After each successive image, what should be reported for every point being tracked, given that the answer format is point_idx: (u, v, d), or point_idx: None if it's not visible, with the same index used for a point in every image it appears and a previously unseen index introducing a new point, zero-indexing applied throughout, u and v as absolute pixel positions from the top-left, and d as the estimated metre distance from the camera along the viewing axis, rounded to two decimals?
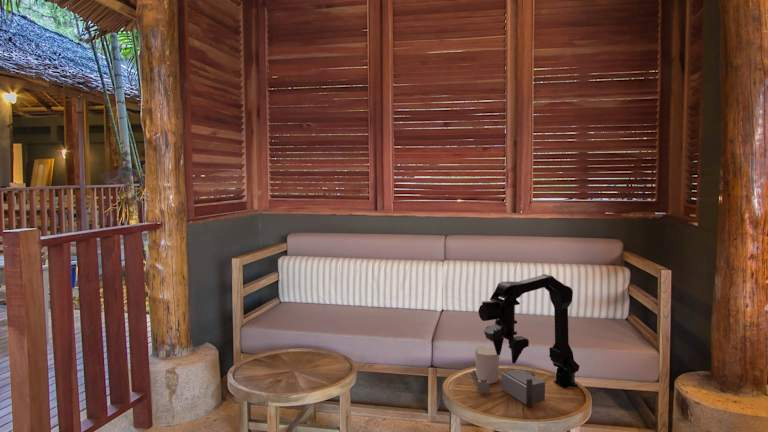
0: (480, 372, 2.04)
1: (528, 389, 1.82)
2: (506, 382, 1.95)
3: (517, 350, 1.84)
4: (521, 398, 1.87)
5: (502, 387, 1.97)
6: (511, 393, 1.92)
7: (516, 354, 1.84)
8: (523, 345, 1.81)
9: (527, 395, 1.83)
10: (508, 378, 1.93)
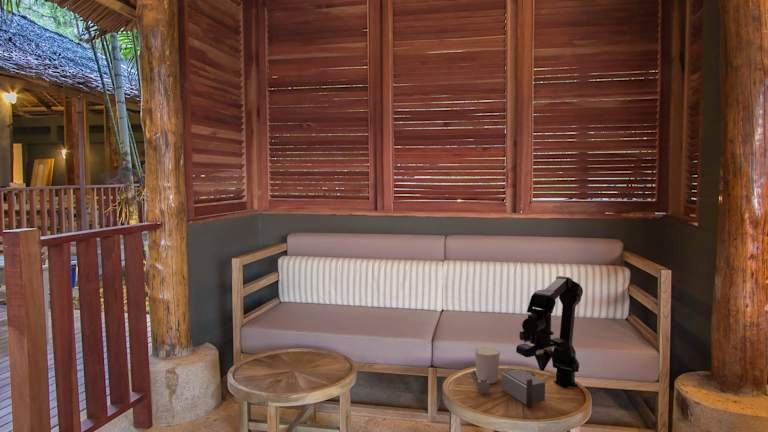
0: (480, 372, 2.04)
1: (528, 389, 1.82)
2: (506, 382, 1.95)
3: (540, 357, 1.83)
4: (521, 398, 1.87)
5: (502, 387, 1.97)
6: (511, 393, 1.92)
7: (539, 361, 1.84)
8: (521, 353, 1.80)
9: (527, 395, 1.83)
10: (508, 378, 1.93)
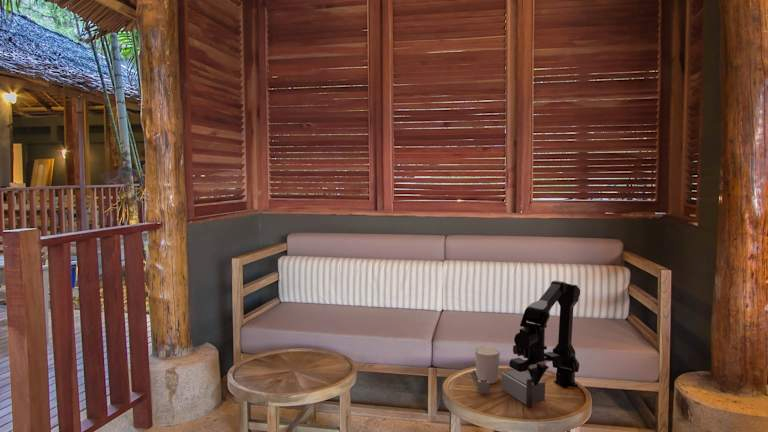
0: (480, 372, 2.04)
1: (528, 389, 1.82)
2: (506, 382, 1.95)
3: (533, 372, 1.82)
4: (521, 398, 1.87)
5: (502, 387, 1.97)
6: (511, 393, 1.92)
7: (532, 375, 1.83)
8: (514, 367, 1.79)
9: (527, 395, 1.83)
10: (508, 378, 1.93)
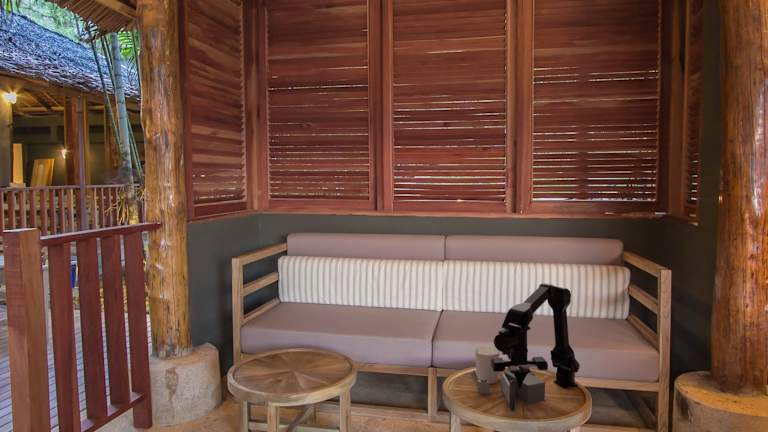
0: (480, 372, 2.04)
1: (510, 390, 1.81)
2: (503, 382, 1.95)
3: None
4: (508, 399, 1.86)
5: (501, 387, 1.97)
6: (504, 393, 1.92)
7: (515, 378, 1.81)
8: (492, 366, 1.81)
9: (509, 396, 1.82)
10: (503, 378, 1.93)
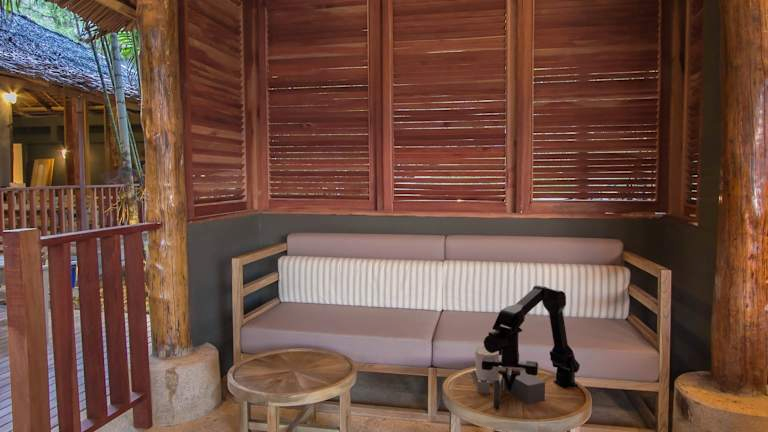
0: (480, 372, 2.04)
1: (494, 389, 1.83)
2: None
3: None
4: None
5: None
6: None
7: None
8: None
9: None
10: (499, 378, 1.94)
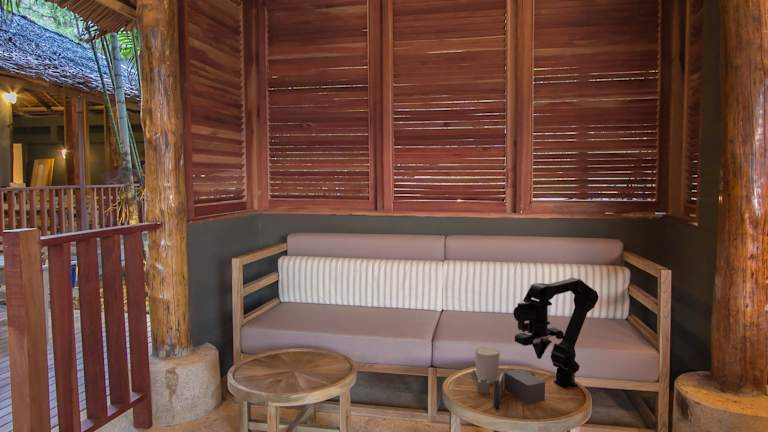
0: (480, 372, 2.04)
1: (494, 389, 1.83)
2: None
3: (537, 346, 1.93)
4: None
5: None
6: None
7: (536, 349, 1.94)
8: (519, 341, 1.90)
9: None
10: (499, 378, 1.94)
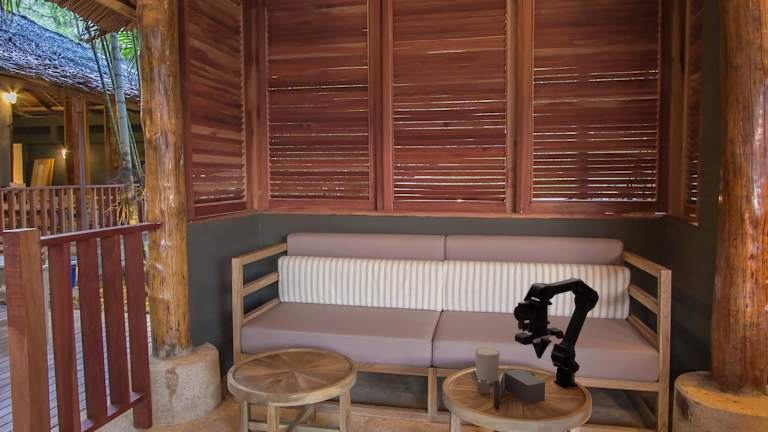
0: (480, 372, 2.04)
1: (494, 389, 1.83)
2: None
3: (537, 346, 1.93)
4: None
5: None
6: None
7: (536, 349, 1.94)
8: (519, 341, 1.90)
9: None
10: (499, 378, 1.94)
